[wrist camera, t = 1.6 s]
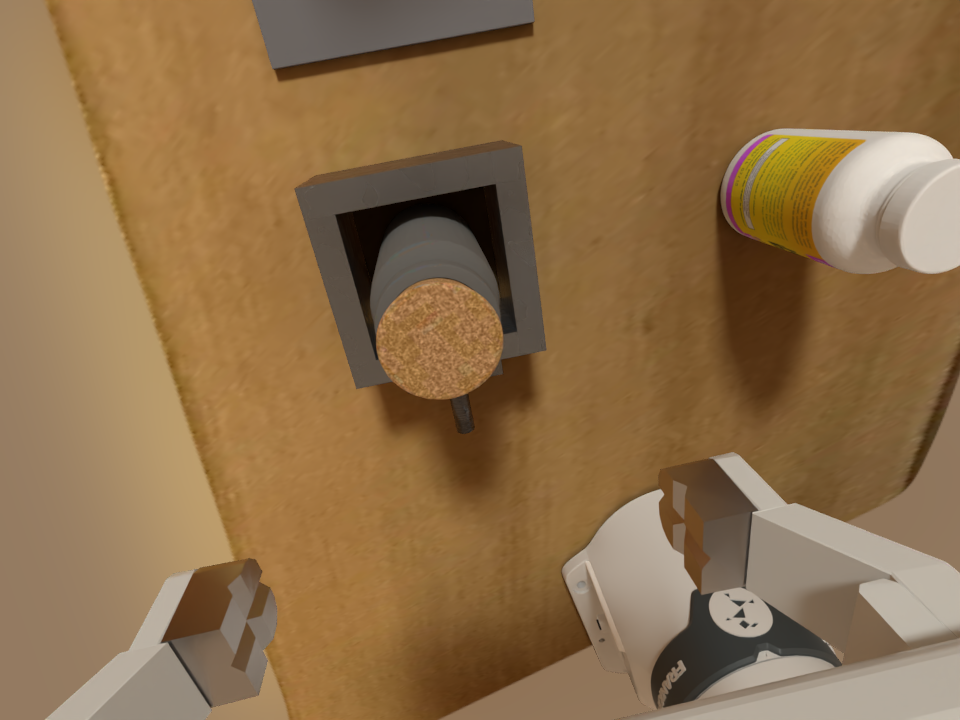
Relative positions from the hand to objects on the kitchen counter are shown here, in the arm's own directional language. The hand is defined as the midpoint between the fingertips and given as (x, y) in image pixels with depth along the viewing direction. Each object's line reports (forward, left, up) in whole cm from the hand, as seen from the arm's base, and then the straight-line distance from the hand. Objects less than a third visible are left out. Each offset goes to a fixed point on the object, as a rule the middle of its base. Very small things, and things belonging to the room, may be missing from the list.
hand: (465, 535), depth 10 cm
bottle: (0, 0, -25) cm, 25 cm away
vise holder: (-3, 0, -25) cm, 25 cm away
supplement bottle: (0, -22, -25) cm, 33 cm away
